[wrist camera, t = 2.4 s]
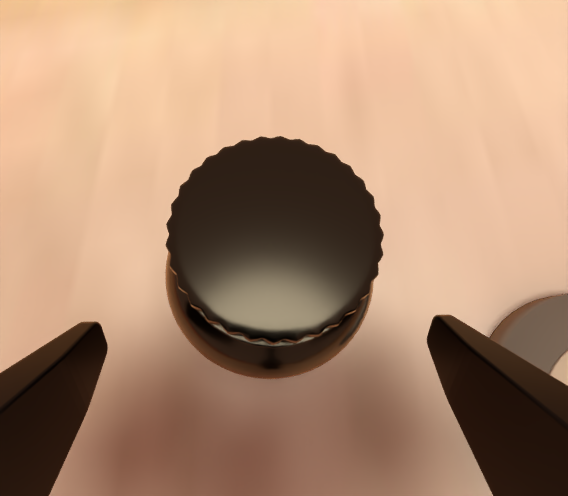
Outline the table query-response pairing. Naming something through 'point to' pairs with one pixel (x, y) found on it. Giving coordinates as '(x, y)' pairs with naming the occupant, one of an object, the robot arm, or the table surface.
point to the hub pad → (539, 335)
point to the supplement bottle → (272, 257)
